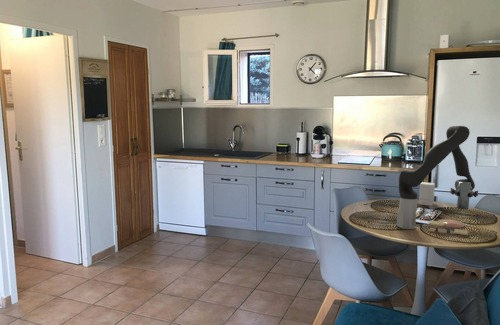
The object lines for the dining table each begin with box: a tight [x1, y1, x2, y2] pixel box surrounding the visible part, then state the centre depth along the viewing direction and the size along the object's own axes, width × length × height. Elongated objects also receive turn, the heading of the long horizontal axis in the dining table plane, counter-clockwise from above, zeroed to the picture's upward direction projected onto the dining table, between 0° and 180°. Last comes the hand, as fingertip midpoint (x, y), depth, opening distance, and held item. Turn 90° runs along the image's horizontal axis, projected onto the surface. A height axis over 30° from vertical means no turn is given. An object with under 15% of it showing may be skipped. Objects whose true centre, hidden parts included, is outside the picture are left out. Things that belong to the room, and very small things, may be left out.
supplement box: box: [418, 181, 436, 207], centre depth 290 cm, size 9×9×15 cm
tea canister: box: [456, 182, 471, 210], centre depth 218 cm, size 6×6×14 cm
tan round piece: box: [438, 218, 465, 229], centre depth 240 cm, size 14×14×1 cm
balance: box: [428, 220, 469, 238], centre depth 224 cm, size 19×7×5 cm, turn 62°
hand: (463, 194), depth 216 cm, fingers closed on tea canister, 5 cm apart
